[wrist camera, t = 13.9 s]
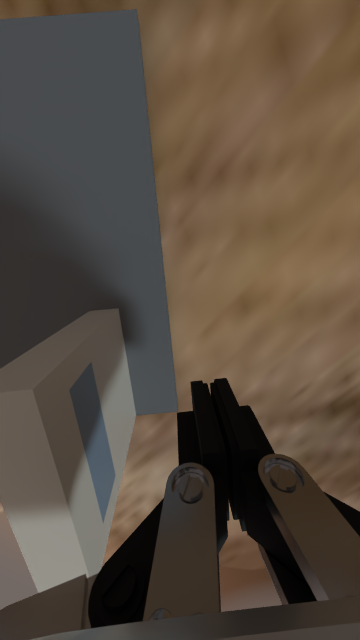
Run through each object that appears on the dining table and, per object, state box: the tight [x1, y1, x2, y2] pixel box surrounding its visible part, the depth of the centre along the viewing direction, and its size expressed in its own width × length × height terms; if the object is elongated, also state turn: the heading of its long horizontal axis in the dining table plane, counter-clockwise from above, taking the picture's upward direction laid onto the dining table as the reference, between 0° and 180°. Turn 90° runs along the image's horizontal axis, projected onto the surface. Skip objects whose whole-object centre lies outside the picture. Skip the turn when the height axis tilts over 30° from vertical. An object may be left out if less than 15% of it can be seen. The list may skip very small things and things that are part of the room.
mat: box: [0, 9, 178, 415], centre depth 13 cm, size 22×16×1 cm
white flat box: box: [0, 308, 136, 593], centre depth 11 cm, size 8×2×9 cm, turn 5°
